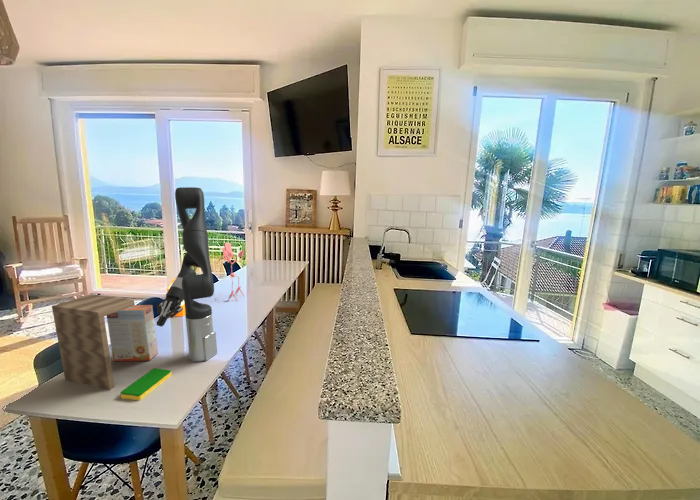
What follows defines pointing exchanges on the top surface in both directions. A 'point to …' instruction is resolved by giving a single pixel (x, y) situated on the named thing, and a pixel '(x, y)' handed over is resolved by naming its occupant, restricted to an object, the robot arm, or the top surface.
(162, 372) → the dish sponge
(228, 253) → the figurine
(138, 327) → the cracker box
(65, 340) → the walnut shelf
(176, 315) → the orange juice
